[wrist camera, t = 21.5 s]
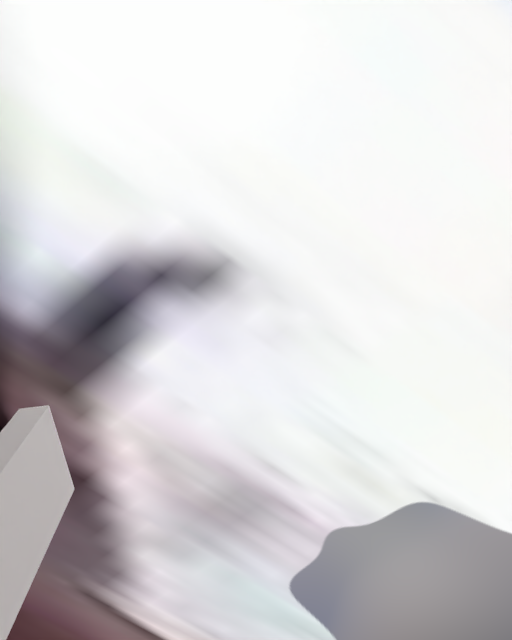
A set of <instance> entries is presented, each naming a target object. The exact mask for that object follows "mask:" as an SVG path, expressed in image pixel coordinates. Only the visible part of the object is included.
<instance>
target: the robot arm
mask: <svg viewBox="0 0 512 640" xmlns="http://www.w3.org/2000/svg"><path fill="white" fill-rule="evenodd" d="M73 491H74V486H73V482H72V479H71V476H70V473H69V469H68V466H67V463H66V459H65V456H64V453H63V450H62V446H61V443H60V440H59V437H58V433H57V430H56V427H55V423H54V420H53V417H52V414H51V410H50V407H49V405H48V406H39V407H31V408H22V409H19V410H18V411H17V412H16V414H15V415H14V416H13V417H12V419H11V420H10V421H9V422H8V423H7V425H6V426H5V427H4V428H3V430H1V429H0V640H6V639H7V637H8V634H9V632H10V630H11V628H12V626H13V623H14V621H15V619H16V617H17V615H18V612H19V610H20V608H21V606H22V603H23V601H24V599H25V597H26V595H27V592H28V590H29V588H30V586H31V584H32V581H33V579H34V577H35V575H36V573H37V570H38V568H39V566H40V564H41V562H42V559H43V557H44V555H45V553H46V551H47V548H48V546H49V544H50V542H51V540H52V537H53V535H54V533H55V531H56V529H57V526H58V524H59V522H60V520H61V518H62V515H63V513H64V511H65V509H66V507H67V504H68V502H69V500H70V498H71V496H72V493H73Z"/></svg>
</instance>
